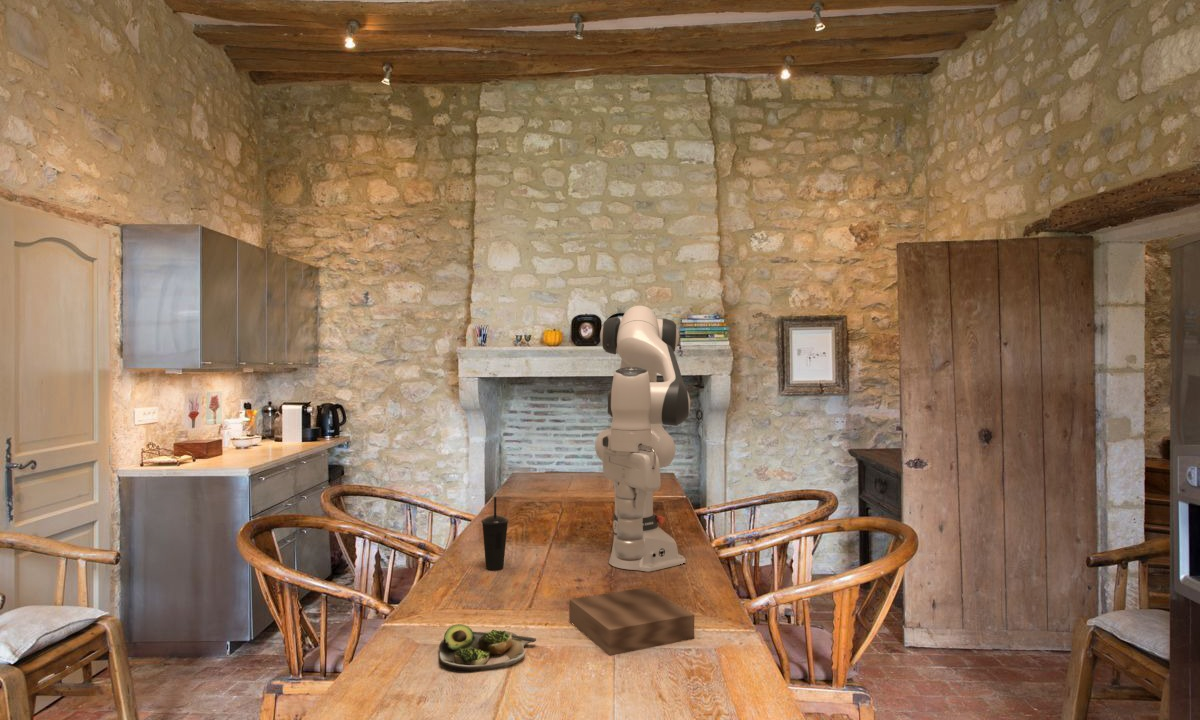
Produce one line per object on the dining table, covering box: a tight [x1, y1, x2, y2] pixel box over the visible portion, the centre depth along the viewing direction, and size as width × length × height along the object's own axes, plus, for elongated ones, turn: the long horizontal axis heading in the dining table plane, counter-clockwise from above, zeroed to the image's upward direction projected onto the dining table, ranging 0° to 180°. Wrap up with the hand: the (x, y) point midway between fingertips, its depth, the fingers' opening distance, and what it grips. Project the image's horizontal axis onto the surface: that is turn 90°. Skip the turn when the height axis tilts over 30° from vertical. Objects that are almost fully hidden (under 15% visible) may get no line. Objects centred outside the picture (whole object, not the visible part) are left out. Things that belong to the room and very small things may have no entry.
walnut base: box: [568, 586, 695, 656], centre depth 150 cm, size 20×20×5 cm
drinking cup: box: [481, 496, 510, 572], centre depth 195 cm, size 8×8×20 cm
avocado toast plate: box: [438, 623, 537, 673], centre depth 138 cm, size 19×18×5 cm
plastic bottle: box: [614, 468, 645, 561], centre depth 150 cm, size 6×7×20 cm
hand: (630, 505), depth 150 cm, fingers closed on plastic bottle, 6 cm apart
